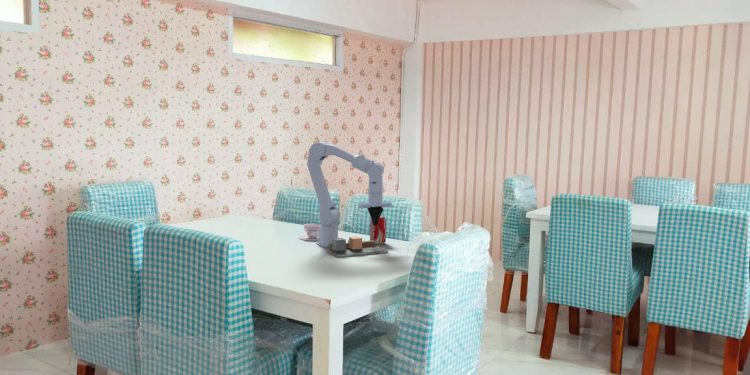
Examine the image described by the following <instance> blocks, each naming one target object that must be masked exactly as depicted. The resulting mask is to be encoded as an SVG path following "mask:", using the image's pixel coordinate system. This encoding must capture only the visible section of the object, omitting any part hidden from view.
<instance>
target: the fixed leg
mask: <svg viewBox="0 0 750 375" xmlns="http://www.w3.org/2000/svg"><path fill="white" fill-rule="evenodd" d="M346 243H347V242H346V238H343V237H338V238H333V241H332V251H334V252H336V253H339V252H346Z"/></svg>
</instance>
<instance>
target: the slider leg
mask: <svg viewBox="0 0 750 375" xmlns="http://www.w3.org/2000/svg"><path fill="white" fill-rule="evenodd" d="M362 241H363V238H362V237H360V236H349V238H348V240H347V243H349V249H350V250H352V251H359V250H362Z"/></svg>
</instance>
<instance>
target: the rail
mask: <svg viewBox="0 0 750 375" xmlns="http://www.w3.org/2000/svg"><path fill="white" fill-rule="evenodd" d="M370 246H375V241H370V240H362V247H370ZM347 248H349V243H348V242H346V249H347ZM328 249H330V250H332V244H329V247H328Z"/></svg>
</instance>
